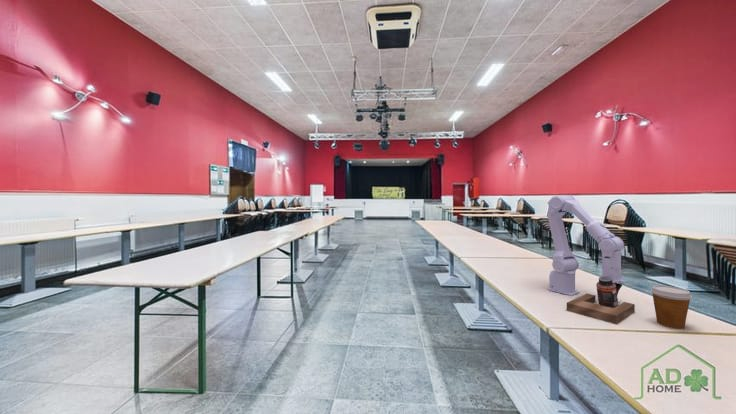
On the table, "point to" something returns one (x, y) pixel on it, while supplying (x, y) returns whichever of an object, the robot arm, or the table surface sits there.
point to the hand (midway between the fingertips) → (611, 301)
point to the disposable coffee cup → (671, 305)
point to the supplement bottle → (607, 292)
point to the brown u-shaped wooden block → (600, 309)
